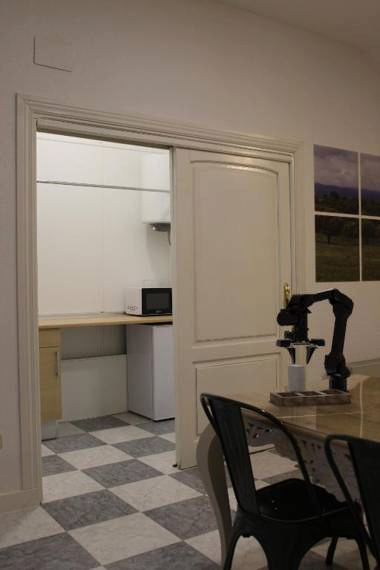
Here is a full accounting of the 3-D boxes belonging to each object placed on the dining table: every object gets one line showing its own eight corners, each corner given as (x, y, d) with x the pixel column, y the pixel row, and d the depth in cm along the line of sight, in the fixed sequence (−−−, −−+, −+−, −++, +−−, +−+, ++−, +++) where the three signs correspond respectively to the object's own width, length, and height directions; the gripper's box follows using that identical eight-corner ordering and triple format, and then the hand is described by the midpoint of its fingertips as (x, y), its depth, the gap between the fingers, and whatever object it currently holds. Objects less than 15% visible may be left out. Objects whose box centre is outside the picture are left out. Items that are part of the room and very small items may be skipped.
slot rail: (336, 396, 232) (336, 388, 232) (351, 402, 220) (350, 394, 220) (270, 400, 226) (269, 392, 226) (281, 406, 214) (281, 398, 214)
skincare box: (306, 395, 235) (306, 365, 235) (298, 396, 232) (297, 366, 232) (295, 393, 240) (295, 364, 240) (287, 394, 237) (287, 365, 237)
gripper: (314, 323, 241) (314, 361, 241) (271, 324, 237) (271, 362, 237) (325, 325, 230) (325, 364, 230) (280, 326, 226) (281, 366, 226)
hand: (300, 364), depth 231 cm, fingers open, 5 cm apart
